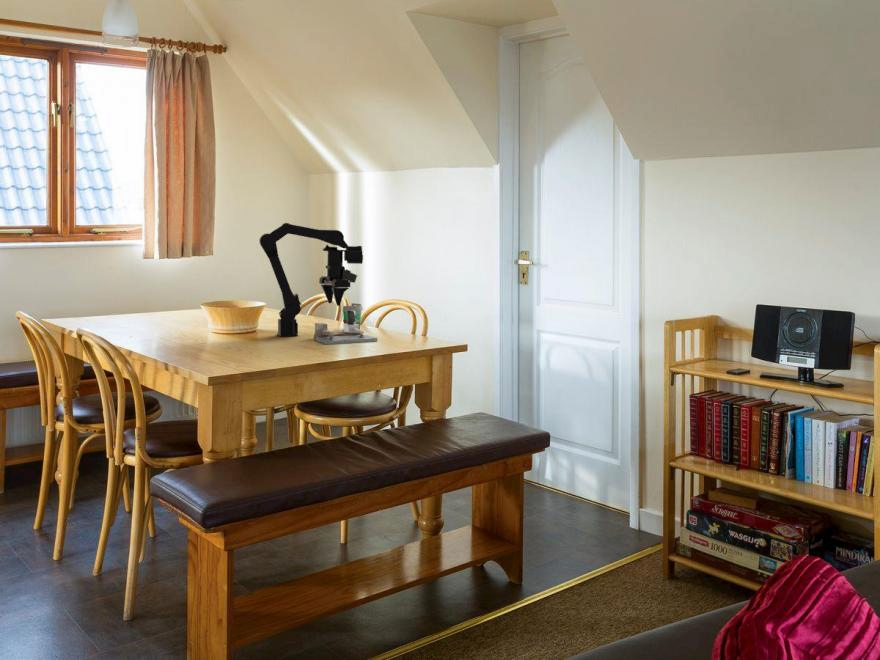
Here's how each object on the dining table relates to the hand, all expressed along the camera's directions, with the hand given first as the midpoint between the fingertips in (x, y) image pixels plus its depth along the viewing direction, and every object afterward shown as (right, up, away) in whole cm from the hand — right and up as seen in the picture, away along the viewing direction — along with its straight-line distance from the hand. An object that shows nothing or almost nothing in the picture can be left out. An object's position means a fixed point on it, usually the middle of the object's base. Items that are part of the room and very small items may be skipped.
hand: (334, 304), depth 345 cm
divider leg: (+9, -11, -7) cm, 16 cm away
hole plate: (+6, -14, -15) cm, 21 cm away
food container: (+6, -10, +17) cm, 20 cm away
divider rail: (+4, -13, -9) cm, 16 cm away
